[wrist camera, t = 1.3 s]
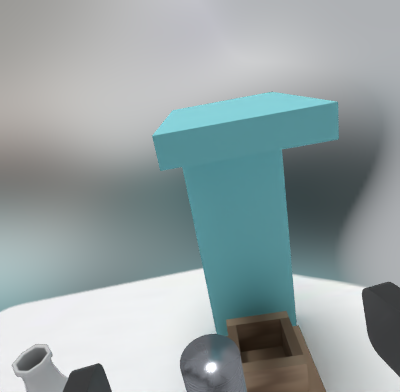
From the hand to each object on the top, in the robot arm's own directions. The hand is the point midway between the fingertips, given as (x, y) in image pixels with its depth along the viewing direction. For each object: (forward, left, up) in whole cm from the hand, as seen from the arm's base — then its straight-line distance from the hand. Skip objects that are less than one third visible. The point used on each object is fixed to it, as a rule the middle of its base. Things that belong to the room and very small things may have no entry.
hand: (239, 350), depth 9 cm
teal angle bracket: (+2, +17, -23) cm, 28 cm away
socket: (+2, +17, -23) cm, 28 cm away
